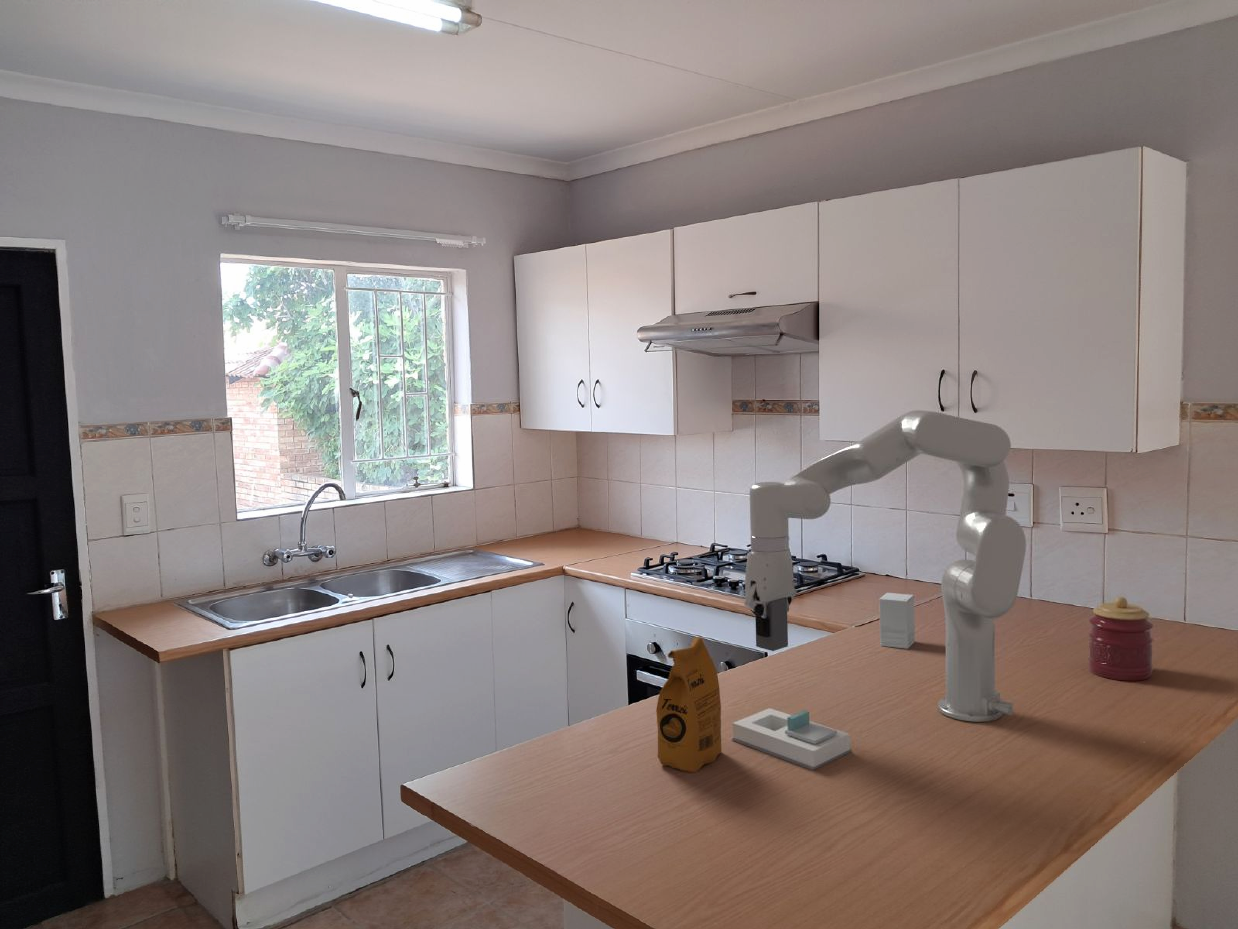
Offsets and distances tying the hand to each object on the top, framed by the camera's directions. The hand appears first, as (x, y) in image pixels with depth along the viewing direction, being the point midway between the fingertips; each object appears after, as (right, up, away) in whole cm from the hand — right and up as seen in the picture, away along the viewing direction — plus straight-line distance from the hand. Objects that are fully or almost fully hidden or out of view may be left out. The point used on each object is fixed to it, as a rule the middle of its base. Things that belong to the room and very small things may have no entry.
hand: (771, 632), depth 185 cm
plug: (0, -3, 0) cm, 3 cm away
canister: (+84, -14, +25) cm, 89 cm away
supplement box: (+42, -13, +53) cm, 69 cm away
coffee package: (-18, -22, -12) cm, 30 cm away
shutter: (+5, -17, -13) cm, 22 cm away
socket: (+2, -20, -9) cm, 22 cm away
